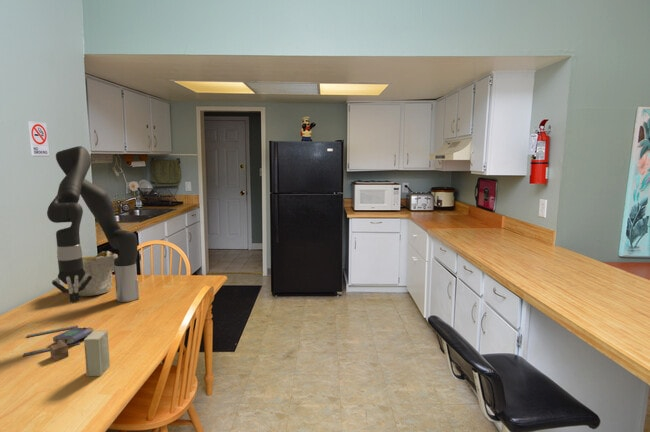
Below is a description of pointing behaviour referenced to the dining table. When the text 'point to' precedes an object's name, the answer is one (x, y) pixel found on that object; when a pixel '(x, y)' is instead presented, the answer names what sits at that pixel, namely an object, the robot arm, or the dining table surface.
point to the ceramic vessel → (98, 273)
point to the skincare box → (97, 353)
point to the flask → (72, 335)
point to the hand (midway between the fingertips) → (74, 302)
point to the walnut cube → (59, 351)
